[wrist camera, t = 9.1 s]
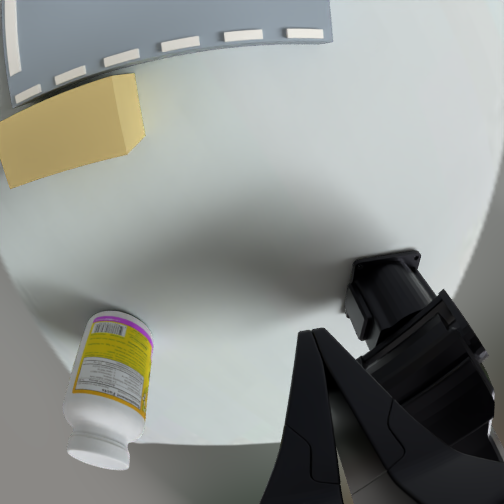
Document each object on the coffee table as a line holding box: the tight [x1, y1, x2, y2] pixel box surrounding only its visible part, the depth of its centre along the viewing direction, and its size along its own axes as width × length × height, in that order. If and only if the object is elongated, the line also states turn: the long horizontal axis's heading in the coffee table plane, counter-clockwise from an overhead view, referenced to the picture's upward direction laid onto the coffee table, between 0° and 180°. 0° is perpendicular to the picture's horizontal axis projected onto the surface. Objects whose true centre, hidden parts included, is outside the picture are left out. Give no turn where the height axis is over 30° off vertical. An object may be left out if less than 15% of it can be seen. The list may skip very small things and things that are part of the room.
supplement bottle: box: [63, 311, 154, 470], centre depth 20 cm, size 7×7×13 cm
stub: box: [0, 73, 146, 189], centre depth 13 cm, size 8×4×4 cm, turn 95°
